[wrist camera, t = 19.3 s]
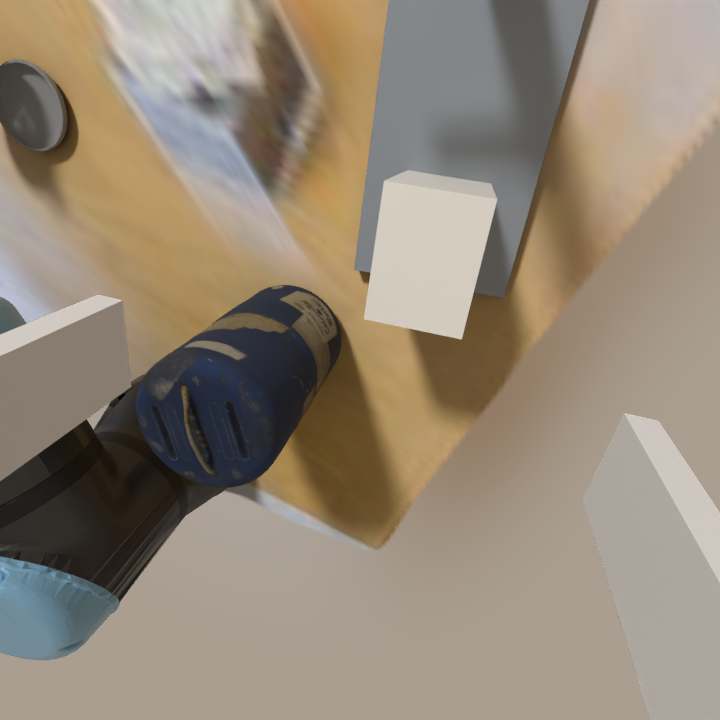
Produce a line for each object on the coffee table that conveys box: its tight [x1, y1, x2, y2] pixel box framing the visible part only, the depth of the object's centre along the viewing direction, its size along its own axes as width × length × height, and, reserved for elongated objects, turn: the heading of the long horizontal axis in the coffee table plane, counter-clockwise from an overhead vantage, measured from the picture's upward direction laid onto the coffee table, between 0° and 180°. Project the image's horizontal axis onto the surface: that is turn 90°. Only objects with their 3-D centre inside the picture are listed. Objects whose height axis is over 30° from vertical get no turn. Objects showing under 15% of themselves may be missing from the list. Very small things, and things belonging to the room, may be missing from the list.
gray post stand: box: [354, 0, 589, 298], centre depth 27 cm, size 26×12×11 cm, turn 172°
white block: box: [364, 170, 497, 339], centre depth 30 cm, size 8×6×10 cm
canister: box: [136, 285, 341, 488], centre depth 34 cm, size 10×10×18 cm
